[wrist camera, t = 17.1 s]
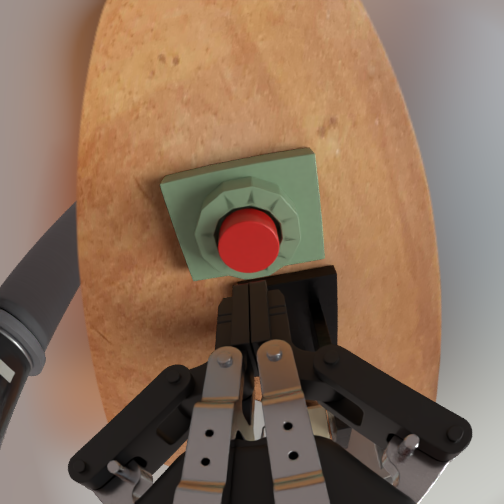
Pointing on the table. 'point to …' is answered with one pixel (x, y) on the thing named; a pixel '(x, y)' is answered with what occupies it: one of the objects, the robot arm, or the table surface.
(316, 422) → the lever
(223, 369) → the robot arm
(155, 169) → the table surface
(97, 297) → the table surface
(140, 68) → the table surface
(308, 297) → the bracket
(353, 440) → the cup
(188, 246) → the button block
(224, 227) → the button
